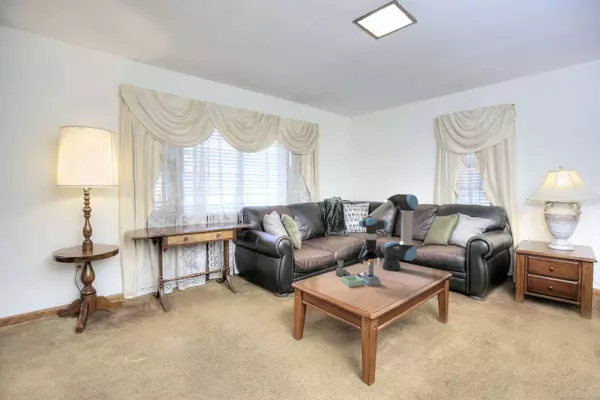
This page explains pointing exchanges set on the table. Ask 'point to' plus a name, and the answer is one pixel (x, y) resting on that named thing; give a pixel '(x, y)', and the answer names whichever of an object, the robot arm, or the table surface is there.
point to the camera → (342, 270)
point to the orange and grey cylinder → (371, 268)
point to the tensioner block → (369, 279)
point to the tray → (351, 281)
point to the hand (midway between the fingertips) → (370, 267)
